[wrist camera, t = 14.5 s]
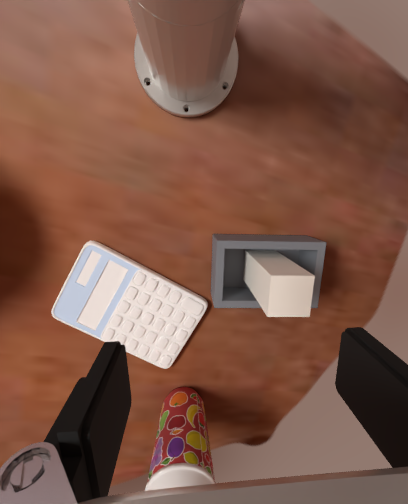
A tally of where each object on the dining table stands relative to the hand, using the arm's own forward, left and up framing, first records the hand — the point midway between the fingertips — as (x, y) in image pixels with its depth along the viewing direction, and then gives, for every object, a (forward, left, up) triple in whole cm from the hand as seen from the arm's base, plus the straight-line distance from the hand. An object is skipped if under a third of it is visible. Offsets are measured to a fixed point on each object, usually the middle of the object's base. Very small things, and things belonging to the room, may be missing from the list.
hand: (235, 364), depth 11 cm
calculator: (+10, -10, -28) cm, 31 cm away
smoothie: (+27, -2, -27) cm, 38 cm away
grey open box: (+3, +9, -27) cm, 28 cm away
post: (+3, +9, -26) cm, 28 cm away
